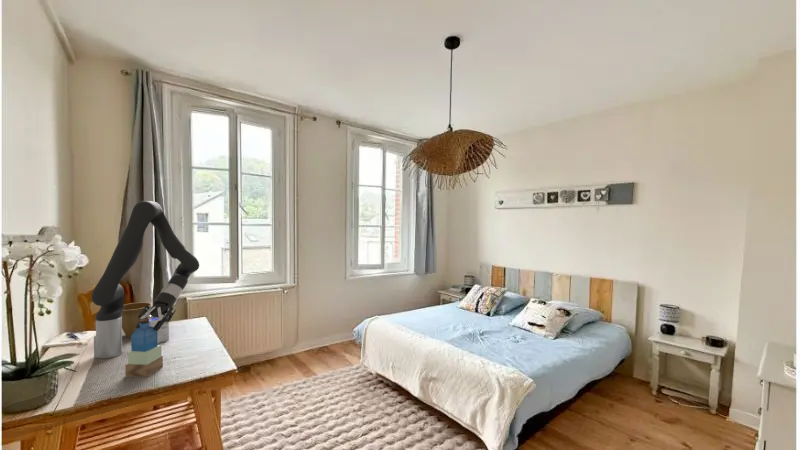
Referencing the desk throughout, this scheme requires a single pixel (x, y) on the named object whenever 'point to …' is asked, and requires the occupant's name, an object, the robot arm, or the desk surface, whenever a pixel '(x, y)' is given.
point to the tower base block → (143, 368)
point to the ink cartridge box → (163, 331)
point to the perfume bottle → (144, 337)
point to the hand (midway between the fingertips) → (146, 329)
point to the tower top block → (144, 356)
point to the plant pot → (132, 317)
